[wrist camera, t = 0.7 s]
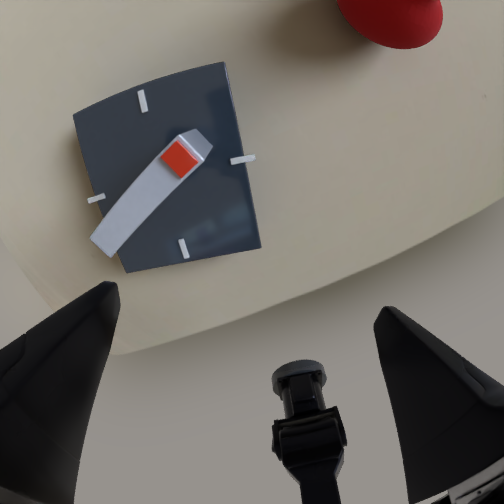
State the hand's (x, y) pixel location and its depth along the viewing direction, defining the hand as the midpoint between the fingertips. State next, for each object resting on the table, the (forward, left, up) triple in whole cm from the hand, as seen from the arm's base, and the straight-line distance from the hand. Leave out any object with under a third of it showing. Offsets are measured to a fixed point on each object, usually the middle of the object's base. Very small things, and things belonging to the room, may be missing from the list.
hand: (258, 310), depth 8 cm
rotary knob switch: (+3, +5, -12) cm, 13 cm away
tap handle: (+3, +5, -9) cm, 11 cm away
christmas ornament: (+13, -11, -13) cm, 21 cm away
